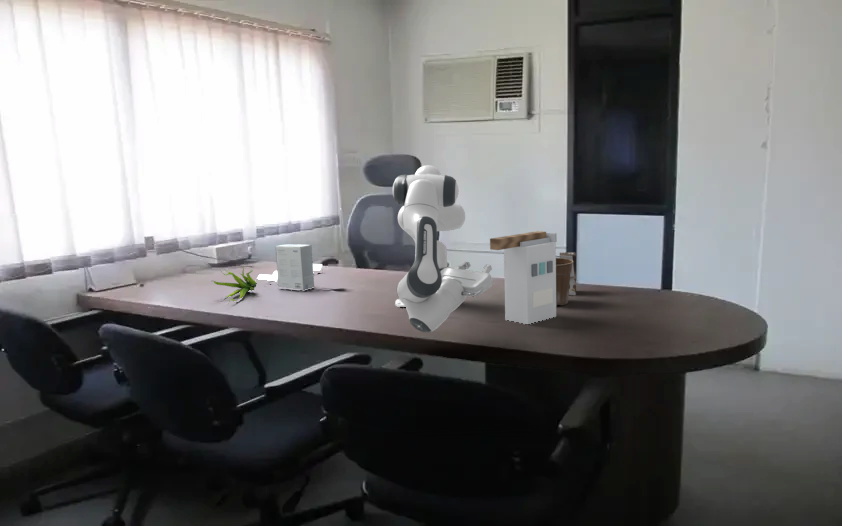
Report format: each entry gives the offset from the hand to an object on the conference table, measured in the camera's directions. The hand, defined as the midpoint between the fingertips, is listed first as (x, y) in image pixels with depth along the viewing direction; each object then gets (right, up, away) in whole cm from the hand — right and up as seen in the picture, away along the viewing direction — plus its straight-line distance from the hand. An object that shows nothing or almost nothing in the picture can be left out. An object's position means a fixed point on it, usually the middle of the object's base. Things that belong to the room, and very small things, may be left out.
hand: (478, 264), depth 211 cm
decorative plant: (-95, -15, +71) cm, 119 cm away
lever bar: (+14, +6, +11) cm, 19 cm away
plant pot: (+31, -15, +41) cm, 54 cm away
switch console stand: (+20, -19, +19) cm, 33 cm away
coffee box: (+41, -12, +58) cm, 72 cm away
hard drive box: (-74, -11, +89) cm, 117 cm away
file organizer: (-83, -8, +119) cm, 145 cm away
